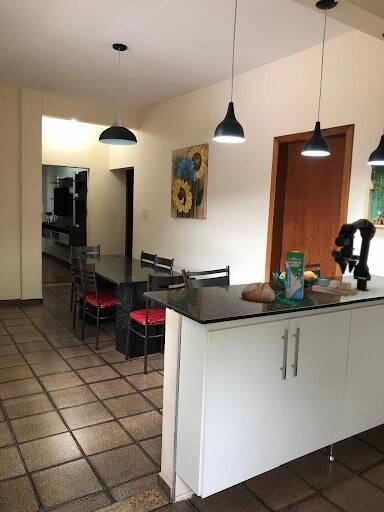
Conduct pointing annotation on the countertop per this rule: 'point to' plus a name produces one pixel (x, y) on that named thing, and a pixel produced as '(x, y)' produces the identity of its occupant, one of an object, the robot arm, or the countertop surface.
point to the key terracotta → (345, 285)
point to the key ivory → (335, 284)
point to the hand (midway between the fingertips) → (346, 273)
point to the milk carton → (294, 275)
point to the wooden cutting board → (334, 290)
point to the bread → (258, 292)
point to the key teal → (323, 282)
